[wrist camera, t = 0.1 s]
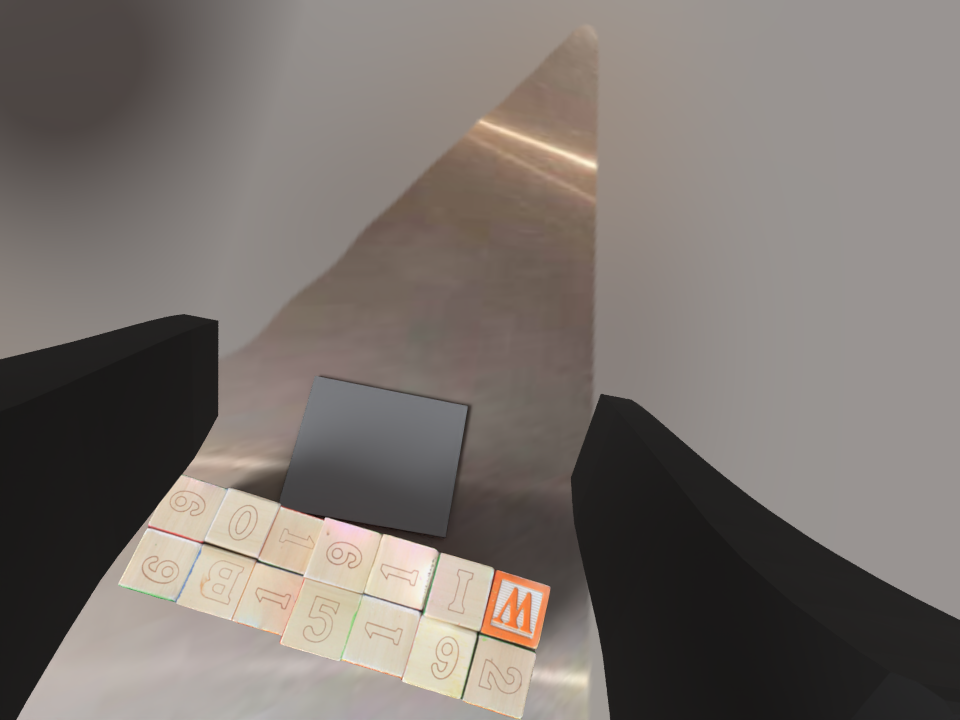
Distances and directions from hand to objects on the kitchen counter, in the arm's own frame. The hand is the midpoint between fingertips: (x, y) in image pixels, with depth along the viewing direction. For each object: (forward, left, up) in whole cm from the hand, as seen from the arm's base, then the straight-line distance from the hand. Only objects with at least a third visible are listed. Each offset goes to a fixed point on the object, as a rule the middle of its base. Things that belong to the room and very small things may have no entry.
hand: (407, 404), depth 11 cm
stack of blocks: (-4, +2, -32) cm, 33 cm away
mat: (+5, +2, -32) cm, 33 cm away
